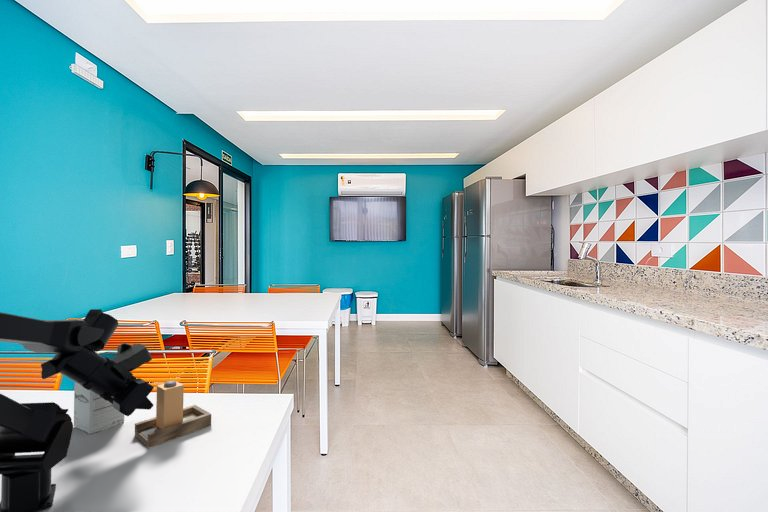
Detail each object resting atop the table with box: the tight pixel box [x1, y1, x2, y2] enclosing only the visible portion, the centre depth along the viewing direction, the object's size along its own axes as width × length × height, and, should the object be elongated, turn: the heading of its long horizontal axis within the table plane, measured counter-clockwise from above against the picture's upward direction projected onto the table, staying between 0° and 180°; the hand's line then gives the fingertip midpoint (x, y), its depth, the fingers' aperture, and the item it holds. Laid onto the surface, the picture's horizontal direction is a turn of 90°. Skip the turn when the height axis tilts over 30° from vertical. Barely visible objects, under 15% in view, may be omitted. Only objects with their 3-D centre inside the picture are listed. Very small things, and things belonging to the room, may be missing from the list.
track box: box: [134, 404, 212, 449], centre depth 83 cm, size 13×8×3 cm, turn 143°
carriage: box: [155, 380, 185, 429], centre depth 82 cm, size 4×4×10 cm
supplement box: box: [73, 382, 125, 435], centre depth 85 cm, size 7×7×13 cm
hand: (151, 406), depth 79 cm, fingers closed
